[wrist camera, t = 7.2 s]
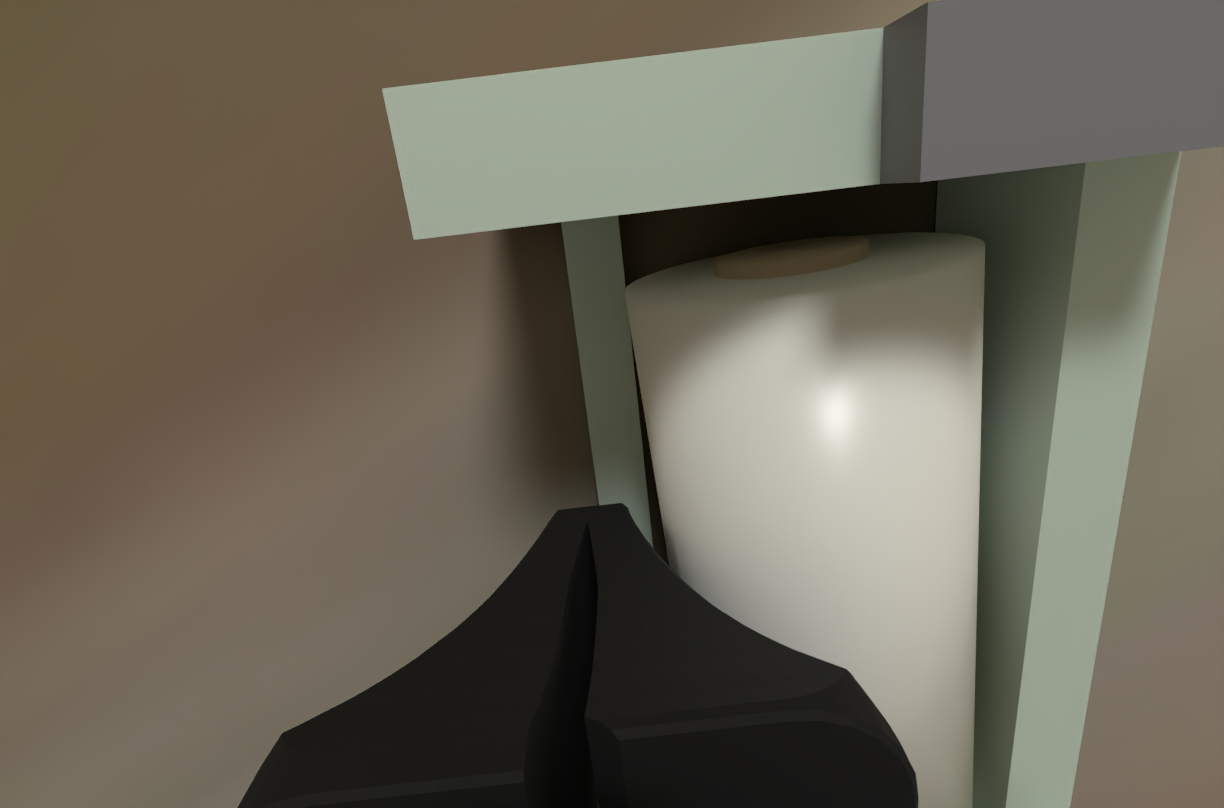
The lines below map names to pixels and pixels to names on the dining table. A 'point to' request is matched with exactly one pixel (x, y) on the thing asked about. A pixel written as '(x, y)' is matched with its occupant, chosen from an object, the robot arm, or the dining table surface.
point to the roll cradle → (966, 204)
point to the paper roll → (831, 462)
